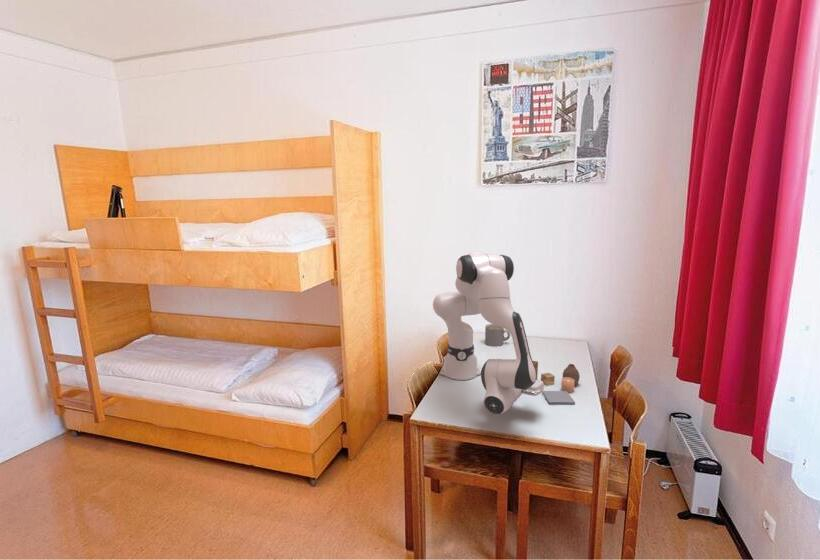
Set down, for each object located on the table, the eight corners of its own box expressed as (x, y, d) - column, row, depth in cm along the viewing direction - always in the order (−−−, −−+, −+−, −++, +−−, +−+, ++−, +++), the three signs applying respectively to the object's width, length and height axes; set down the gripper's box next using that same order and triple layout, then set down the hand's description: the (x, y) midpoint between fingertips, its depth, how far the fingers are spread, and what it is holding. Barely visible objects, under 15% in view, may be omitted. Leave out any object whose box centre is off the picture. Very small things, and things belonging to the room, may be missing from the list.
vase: (578, 381, 189) (579, 362, 187) (579, 388, 182) (581, 368, 181) (561, 380, 191) (562, 361, 189) (562, 386, 184) (563, 367, 182)
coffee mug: (483, 345, 237) (483, 328, 235) (487, 340, 246) (487, 323, 244) (508, 348, 232) (508, 330, 230) (510, 342, 241) (511, 325, 239)
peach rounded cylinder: (559, 388, 183) (560, 376, 182) (571, 387, 183) (572, 376, 182) (563, 393, 178) (564, 381, 177) (575, 393, 178) (576, 381, 177)
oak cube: (540, 382, 189) (541, 373, 188) (548, 380, 190) (548, 372, 189) (546, 385, 185) (546, 377, 184) (554, 384, 186) (554, 375, 186)
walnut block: (523, 389, 181) (524, 363, 179) (526, 386, 185) (527, 359, 183) (533, 392, 179) (534, 365, 177) (536, 388, 183) (538, 361, 180)
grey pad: (542, 393, 178) (542, 391, 178) (566, 393, 178) (566, 391, 177) (549, 404, 168) (549, 402, 168) (574, 404, 168) (575, 402, 168)
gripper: (538, 386, 152) (549, 373, 164) (484, 375, 163) (497, 363, 175) (537, 403, 153) (548, 389, 165) (484, 391, 164) (497, 378, 176)
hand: (522, 376), depth 170 cm, fingers open, 8 cm apart
